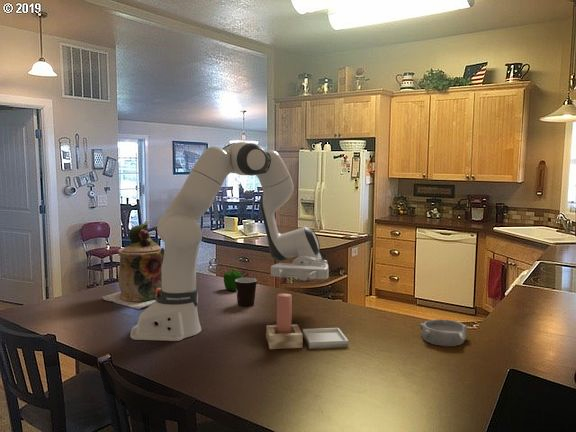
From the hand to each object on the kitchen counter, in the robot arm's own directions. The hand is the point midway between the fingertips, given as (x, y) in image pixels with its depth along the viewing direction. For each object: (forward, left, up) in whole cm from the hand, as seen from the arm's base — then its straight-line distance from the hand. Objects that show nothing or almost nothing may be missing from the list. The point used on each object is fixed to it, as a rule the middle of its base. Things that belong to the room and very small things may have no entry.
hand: (294, 276), depth 157 cm
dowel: (-5, -11, -18) cm, 22 cm away
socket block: (-5, -11, -18) cm, 22 cm away
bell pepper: (-19, +56, -19) cm, 62 cm away
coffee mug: (-14, +33, -19) cm, 40 cm away
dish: (+46, -14, -19) cm, 52 cm away
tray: (+8, -11, -18) cm, 23 cm away
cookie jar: (-56, +46, -19) cm, 75 cm away
